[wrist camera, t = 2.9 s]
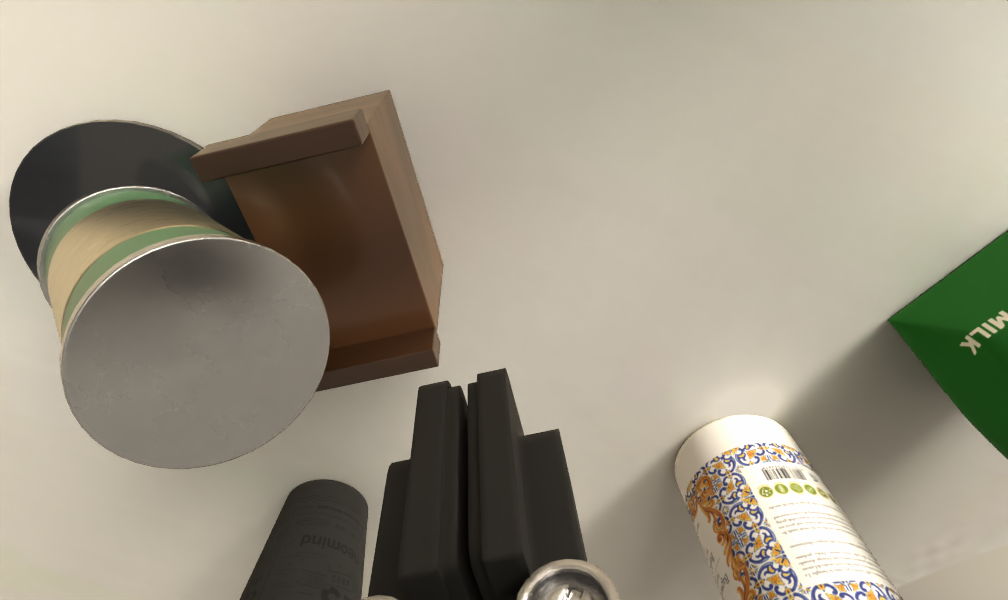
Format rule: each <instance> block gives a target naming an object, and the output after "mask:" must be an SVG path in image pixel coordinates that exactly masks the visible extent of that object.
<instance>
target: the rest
mask: <svg viewBox="0 0 1008 600" xmlns="http://www.w3.org/2000/svg"><path fill="white" fill-rule="evenodd" d="M190 161H191V163H192V165H193V167H194V169H195V171H196V173H197V175H198V177H199V179H200V181H201V182H202V183H206V182H210V181H214V180H218V179H223V178H226V180H227V182H228V185H229V187H230V189H231V191H232V193H233V195H234V197H235V199H236V201H237V203H238V205H239V207H240V209H241V212H242V214H243V216H244V218H245V220H246V222H247V224H248V226H249V228H250V230H251V232H252V234H253V236H254V239H255V241H256V242H258V243H260V244H262V245H265V246H267V247H269V248H271V249H273V250H275V251H276V252H278V253H280V254H281V255H283V256H285V257H287V258H288V259H289V260H290V261H292V262H293V263H294V264H296V265H297V266H298V267H299V268H300V269H301V270H302V271H303V272H304V273H305V274H306V275H307V276H308V277H309V279H310V280H311V282H312V283H313V284H314V286H315V287H316V289H317V291H318V293H319V294H320V296H321V298H322V301H323V303H324V306H325V309H326V312H327V317H328V321H329V331H330V345H329V354H328V359H327V364H326V367H325V370H324V373H323V376H322V379H321V381H320V383H319V385H318V387H317V389H316V391H315V392H317V391H322V390H327V389H331V388H336V387H341V386H346V385H351V384H355V383H360V382H365V381H370V380H375V379H380V378H384V377H389V376H394V375H399V374H404V373H409V372H413V371H418V370H423V369H428V368H433V367H437V366H438V365H439V354H440V340H439V337H438V334H437V325H438V314H439V304H440V294H441V283H442V273H443V262H442V259H441V256H440V252H439V249H438V246H437V242H436V239H435V236H434V233H433V229H432V226H431V223H430V220H429V216H428V213H427V210H426V206H425V203H424V200H423V197H422V193H421V190H420V187H419V184H418V180H417V177H416V174H415V170H414V167H413V164H412V161H411V157H410V154H409V151H408V148H407V144H406V141H405V138H404V135H403V131H402V128H401V125H400V121H399V118H398V115H397V112H396V108H395V105H394V102H393V99H392V95H391V92H390V90H387V91H383V92H379V93H375V94H371V95H366V96H362V97H358V98H354V99H350V100H346V101H342V102H337V103H333V104H329V105H325V106H321V107H317V108H313V109H309V110H304V111H300V112H296V113H292V114H288V115H284V116H280V117H275V118H271V119H270V120H269V121H267V122H266V123H265V124H263V125H262V126H261V127H260V128H258V129H257V130H256V131H254V132H253V133H252V134H250V135H247V136H243V137H239V138H235V139H230V140H226V141H222V142H218V143H214V144H210V145H208V146H207V147H205V148H204V149H202V150H201V151H199V152H198V153H196V154H195V155H193V156H192V157H191V158H190Z"/></svg>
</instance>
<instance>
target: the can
mask: <svg viewBox="0 0 1008 600" xmlns="http://www.w3.org/2000/svg"><path fill="white" fill-rule="evenodd" d="M37 272H38V277H39V282H40V286H41V289H42V291H43V294H44V296H45V298H46V300H47V301H48V303H49V305H50V306H51V308H52V310H53V314H54V318H55V321H56V325H57V329H58V333H59V337H60V341H61V353H60V373H61V379H62V384H63V388H64V392H65V397H66V399H67V402H68V404H69V406H70V409H71V411H72V413H73V415H74V416H75V418H76V419H77V421H78V422H79V424H80V425H81V427H82V428H83V429H84V430H85V431H86V432H87V433H88V434H89V435H90V436H91V437H92V438H93V439H94V440H95V441H96V442H98V443H99V444H100V445H102V446H103V447H104V448H106V449H107V450H109V451H111V452H113V453H115V454H116V455H118V456H120V457H122V458H125V459H128V460H130V461H133V462H135V463H139V464H143V465H148V466H152V467H159V468H168V469H189V468H198V467H205V466H210V465H215V464H219V463H223V462H226V461H229V460H232V459H235V458H237V457H240V456H242V455H244V454H247V453H249V452H251V451H253V450H255V449H256V448H258V447H260V446H262V445H263V444H265V443H267V442H268V441H270V440H271V439H272V438H274V437H275V436H277V435H278V434H279V433H280V432H282V431H283V430H284V429H285V428H286V427H287V426H289V425H290V424H291V423H292V422H293V420H294V419H295V418H296V417H297V416H298V415H299V414H300V413H301V412H302V410H303V409H304V408H305V406H306V405H307V404H308V403H309V401H310V399H311V398H312V396H313V394H314V393H315V391H316V389H317V387H318V385H319V383H320V381H321V379H322V376H323V373H324V370H325V367H326V364H327V359H328V354H329V345H330V331H329V321H328V317H327V312H326V309H325V306H324V303H323V301H322V298H321V296H320V294H319V293H318V291H317V289H316V287H315V286H314V284H313V283H312V282H311V280H310V279H309V277H308V276H307V275H306V274H305V273H304V272H303V271H302V270H301V269H300V268H299V267H298V266H297V265H296V264H294V263H293V262H292V261H290V260H289V259H288V258H287V257H285V256H283V255H281V254H280V253H278V252H276V251H275V250H273V249H271V248H269V247H267V246H265V245H262V244H260V243H258V242H255V241H252V240H248V239H245V238H242V237H240V236H239V235H237V234H236V233H234V232H232V231H231V230H229V229H227V228H226V227H224V226H222V225H221V224H219V223H218V222H216V221H214V220H213V219H211V217H210V216H209V215H208V214H206V213H205V212H204V211H203V210H202V209H201V208H200V207H198V206H197V205H196V204H194V203H193V202H191V201H189V200H188V199H186V198H184V197H182V196H180V195H178V194H176V193H173V192H171V191H168V190H165V189H161V188H158V187H152V186H147V185H118V186H112V187H107V188H103V189H100V190H96V191H94V192H91V193H89V194H86V195H84V196H82V197H80V198H79V199H77V200H75V201H74V202H72V203H71V204H69V205H68V206H67V207H66V208H64V209H63V210H62V211H61V212H60V213H59V214H58V215H57V216H56V217H55V218H54V219H53V221H52V222H51V224H50V225H49V226H48V228H47V229H46V231H45V233H44V235H43V238H42V240H41V243H40V246H39V250H38V257H37Z"/></svg>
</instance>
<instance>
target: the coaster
mask: <svg viewBox="0 0 1008 600" xmlns="http://www.w3.org/2000/svg"><path fill="white" fill-rule="evenodd" d="M202 149H204V148H203V147H201V146H200V145H198V144H196V143H194V142H193V141H191V140H189V139H187V138H184V137H182V136H180V135H178V134H176V133H174V132H171V131H168V130H165V129H162V128H159V127H156V126H153V125H148V124H144V123H139V122H134V121H124V120H96V121H90V122H84V123H79V124H76V125H73V126H70V127H67V128H64V129H61V130H59V131H57V132H55V133H53V134H51V135H49V136H48V137H46V138H44V139H43V140H42V141H41V142H39V143H38V144H37V145H35V146H34V147H33V148H32V149H31V150H30V152H29V153H28V154H27V155H26V156H25V157H24V159H23V160H22V162H21V164H20V166H19V167H18V169H17V171H16V173H15V176H14V179H13V182H12V185H11V192H10V198H9V209H10V220H11V225H12V231H13V234H14V237H15V240H16V242H17V245H18V248H19V250H20V252H21V254H22V256H23V258H24V260H25V262H26V263H27V265H28V266H29V268H30V270H31V271H32V273H33V274H34V276H35V277H36V278H37V279H38V281H39V277H38V272H37V257H38V250H39V246H40V243H41V240H42V238H43V235H44V233H45V231H46V229H47V228H48V226H49V225H50V224H51V222H52V221H53V219H54V218H55V217H56V216H57V215H58V214H59V213H60V212H61V211H62V210H63V209H64V208H66V207H67V206H68V205H69V204H71V203H72V202H74V201H75V200H77V199H79V198H80V197H82V196H84V195H86V194H89V193H91V192H94V191H96V190H100V189H103V188H107V187H112V186H118V185H147V186H152V187H158V188H161V189H165V190H168V191H171V192H173V193H176V194H178V195H180V196H182V197H184V198H186V199H188V200H189V201H191V202H193V203H194V204H196V205H197V206H198V207H200V208H201V209H202V210H203V211H204V212H205V213H206V214H208V215H209V216H210V217H211V219H213V220H214V221H216V222H218V223H219V224H221V225H222V226H224V227H226V228H227V229H229V230H231V231H232V232H234V233H236V234H237V235H239V236H240V237H242V238H245V239H248V240H252V241H255V239H254V236H253V234H252V232H251V230H250V228H249V226H248V224H247V222H246V220H245V218H244V216H243V214H242V212H241V209H240V207H239V205H238V203H237V201H236V199H235V197H234V195H233V193H232V191H231V189H230V187H229V185H228V182H227V180H226V178H223V179H218V180H214V181H210V182H206V183H202V182H201V181H200V179H199V177H198V175H197V173H196V171H195V169H194V167H193V165H192V163H191V161H190V158H191V157H192V156H193V155H195V154H196V153H198V152H199V151H201V150H202ZM255 242H256V241H255Z"/></svg>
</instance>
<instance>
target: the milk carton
mask: <svg viewBox="0 0 1008 600" xmlns="http://www.w3.org/2000/svg"><path fill="white" fill-rule="evenodd" d="M888 321H889V322H890V323H891V325H892V326H893V327H894V328H895V330H896V331H897V332H898V333H899V334H900V336H901V337H902V338H903V339H904V341H905V342H906V343H907V344H908V346H909V347H910V348H911V349H912V351H913V352H914V353H915V355H916V356H917V357H918V358H919V360H920V361H921V362H922V364H923V365H924V366H925V367H926V369H927V370H928V371H929V372H930V374H931V375H932V376H933V378H934V379H935V380H936V381H937V383H938V384H939V385H940V387H941V388H942V389H943V390H944V392H945V393H946V394H947V395H948V397H949V398H950V399H951V400H952V402H953V403H954V404H955V405H956V407H957V408H958V409H959V410H960V411H961V413H962V414H963V415H964V416H965V417H966V418H967V419H968V420H969V421H970V422H971V424H972V425H973V426H974V427H975V428H976V429H977V430H978V431H979V432H980V433H981V434H982V435H983V436H984V437H985V438H986V439H987V440H988V441H989V442H990V443H991V444H992V445H993V446H994V447H995V448H996V449H997V450H998V451H999V452H1000V453H1001V454H1003V455H1004V456H1005V457H1006V458H1007V459H1008V231H1007V232H1006V233H1004V234H1003V235H1002V236H1000V237H999V238H998V239H996V240H995V241H994V242H992V243H991V244H990V245H988V246H987V247H986V248H984V249H983V250H981V251H980V252H979V253H977V254H976V255H975V256H973V257H972V258H971V259H969V260H968V261H967V262H965V263H964V264H963V265H961V266H960V267H959V268H957V269H956V270H955V271H953V272H952V273H951V274H949V275H948V276H947V277H945V278H944V279H943V280H941V281H940V282H938V283H937V284H936V285H934V286H933V287H932V288H930V289H929V290H928V291H926V292H925V293H924V294H922V295H921V296H920V297H918V298H917V299H916V300H914V301H913V302H912V303H910V304H909V305H908V306H906V307H905V308H904V309H902V310H901V311H900V312H898V313H897V314H896V315H894V316H893V317H891V318H890V319H889V320H888Z"/></svg>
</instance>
